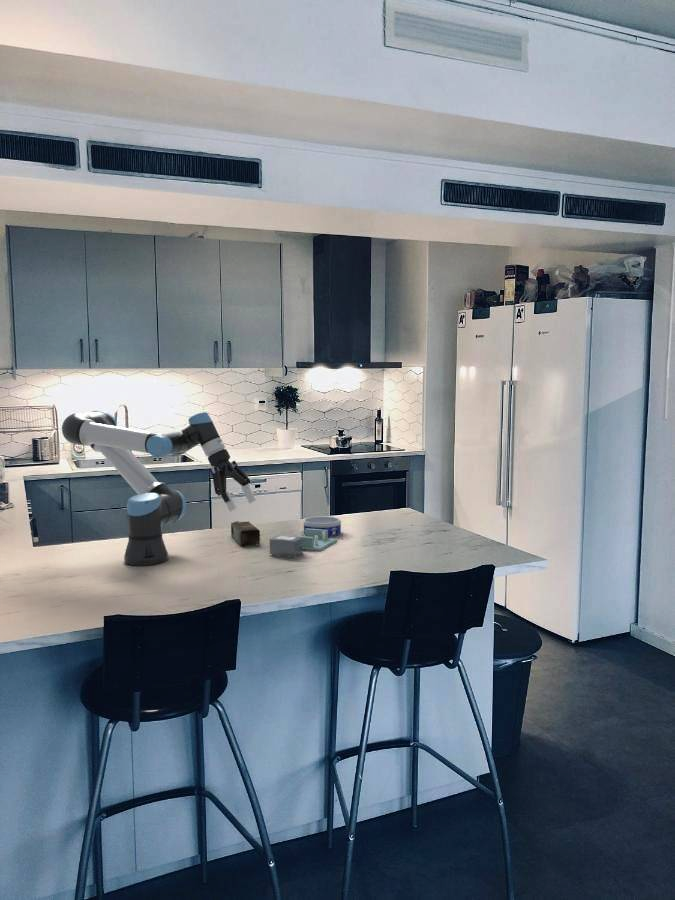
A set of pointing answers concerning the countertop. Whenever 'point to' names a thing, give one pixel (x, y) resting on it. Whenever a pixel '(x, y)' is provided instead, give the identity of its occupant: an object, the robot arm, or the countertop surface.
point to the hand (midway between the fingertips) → (243, 505)
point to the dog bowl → (324, 524)
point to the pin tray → (315, 539)
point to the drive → (286, 546)
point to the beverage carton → (245, 533)
